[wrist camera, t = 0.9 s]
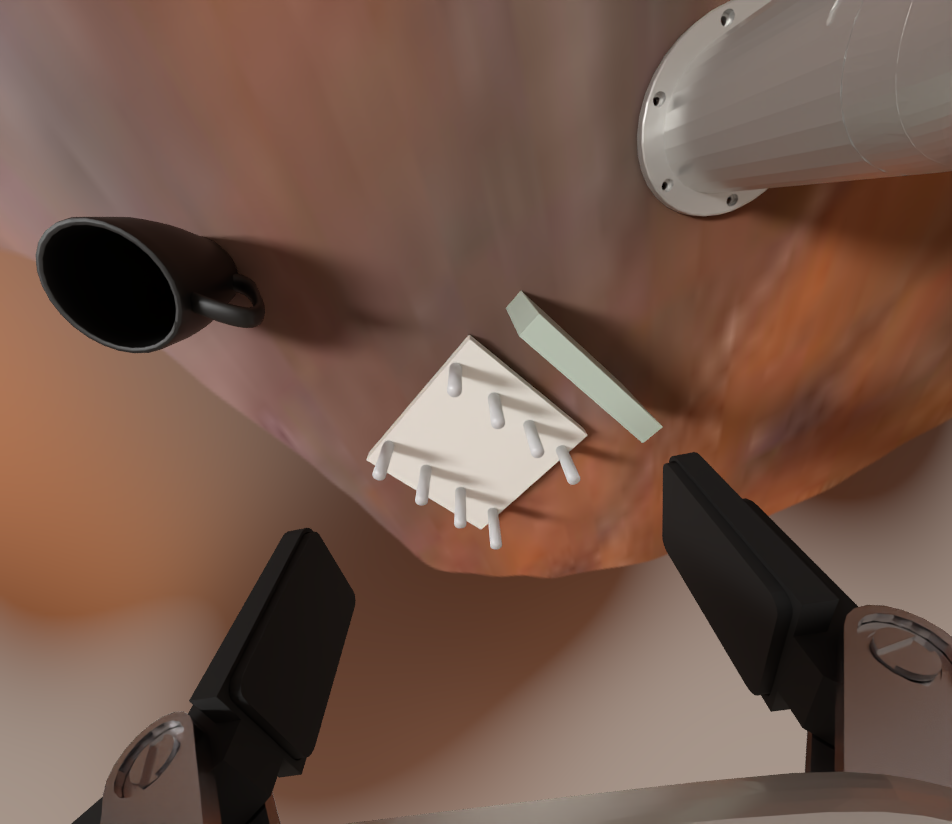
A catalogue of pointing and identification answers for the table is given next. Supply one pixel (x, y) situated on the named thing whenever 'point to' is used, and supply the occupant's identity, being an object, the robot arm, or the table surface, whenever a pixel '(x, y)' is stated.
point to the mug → (140, 282)
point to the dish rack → (476, 439)
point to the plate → (580, 367)
